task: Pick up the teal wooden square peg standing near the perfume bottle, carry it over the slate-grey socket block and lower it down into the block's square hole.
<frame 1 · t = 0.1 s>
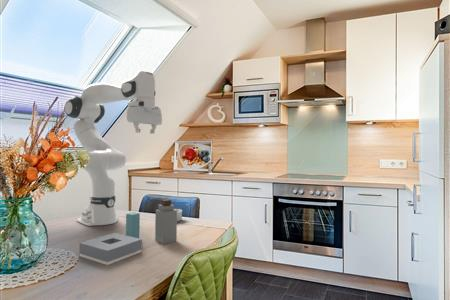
hand: (145, 133, 150), 48 cm above the table, tool pointing down, fingers open, 8 cm apart
peg: (132, 240, 134), on the table
perfume bottle: (165, 241, 135), on the table
saucepan: (172, 219, 176), on the table
socket block: (111, 253, 118), on the table
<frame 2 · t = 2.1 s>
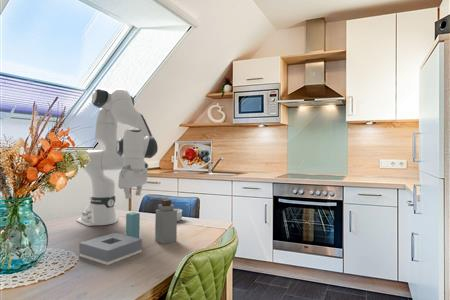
hand: (133, 196, 134), 19 cm above the table, tool pointing down, fingers open, 8 cm apart
nothing on the table moved.
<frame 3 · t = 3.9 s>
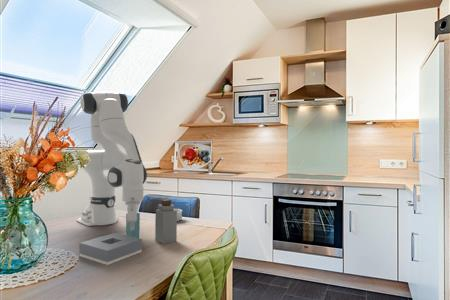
hand: (132, 227, 134), 6 cm above the table, tool pointing down, fingers closed on peg, 6 cm apart
peg: (132, 240, 134), on the table, touching gripper
everything else where it was.
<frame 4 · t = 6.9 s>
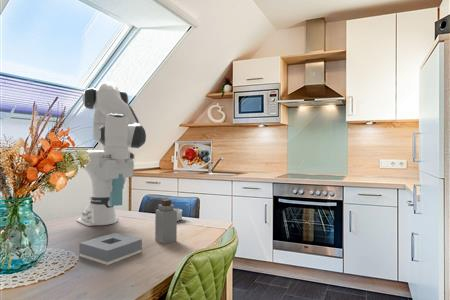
hand: (115, 190, 120), 24 cm above the table, tool pointing down, fingers closed on peg, 6 cm apart
peg: (115, 204, 120), point 19 cm above the table, touching gripper
everything else where it was.
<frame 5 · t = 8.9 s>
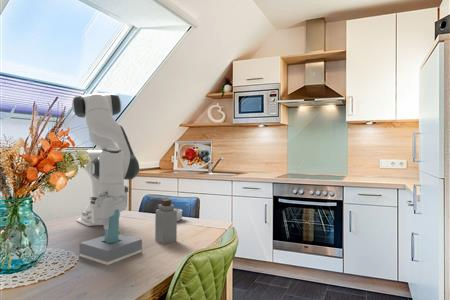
hand: (111, 226, 118), 11 cm above the table, tool pointing down, fingers closed on peg, 6 cm apart
peg: (111, 241, 118), point 5 cm above the table, touching gripper
everything else where it was.
when the fingers open (8 cm above the table, at t = 10.3 s): peg stays where it is, resting on socket block.
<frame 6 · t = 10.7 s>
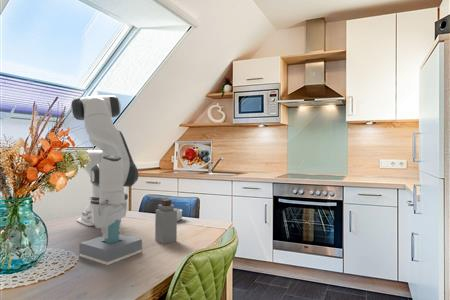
hand: (111, 234, 118), 8 cm above the table, tool pointing down, fingers open, 8 cm apart
peg: (111, 251, 118), point 1 cm above the table, touching socket block
everything else where it was.
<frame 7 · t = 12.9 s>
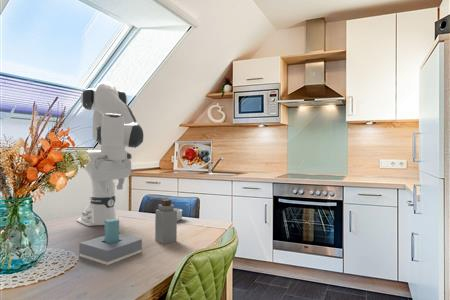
hand: (112, 191, 118), 24 cm above the table, tool pointing down, fingers open, 8 cm apart
nothing on the table moved.
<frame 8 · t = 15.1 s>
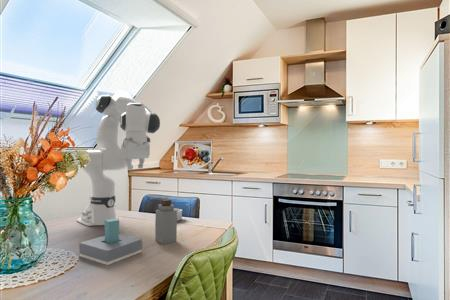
hand: (135, 168, 139), 31 cm above the table, tool pointing down, fingers open, 8 cm apart
at the end: peg 0.1 cm off-centre on the socket block, point 1.0 cm above the socket block's base; peg tilted 0°; the gripper is holding nothing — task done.
